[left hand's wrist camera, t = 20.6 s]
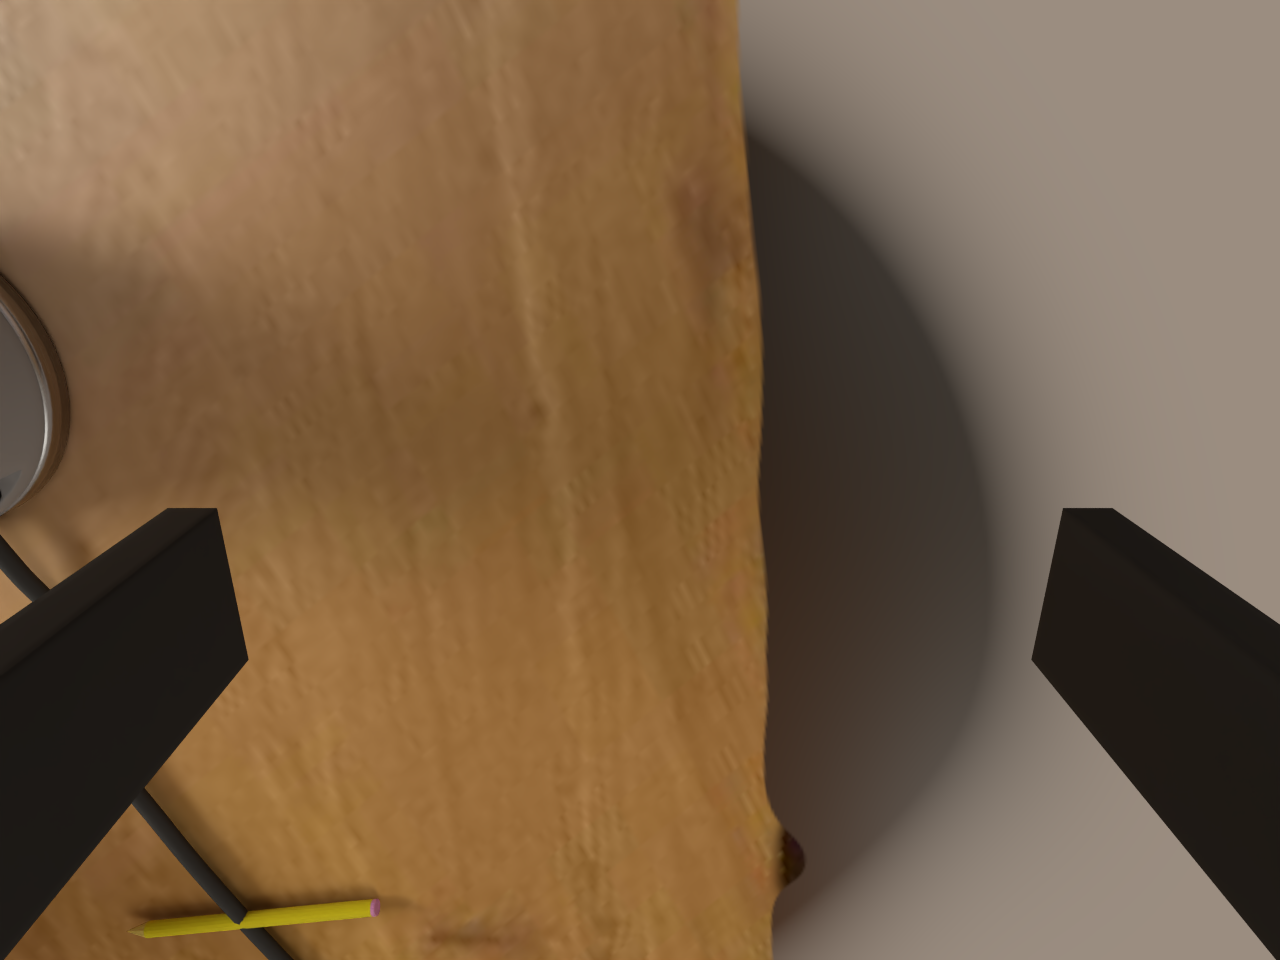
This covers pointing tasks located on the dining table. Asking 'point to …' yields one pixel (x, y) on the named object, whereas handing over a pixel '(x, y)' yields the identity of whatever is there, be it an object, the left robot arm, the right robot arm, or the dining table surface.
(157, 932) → the pencil
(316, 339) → the dining table surface
